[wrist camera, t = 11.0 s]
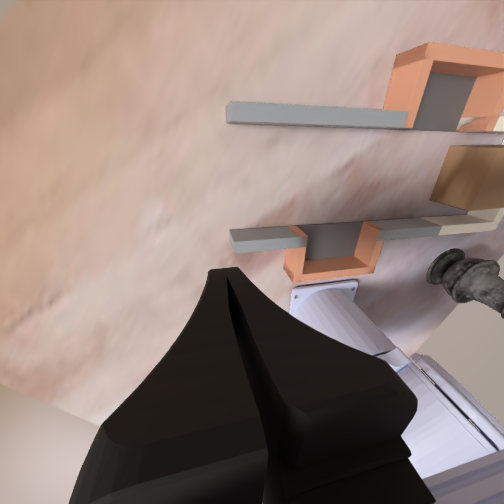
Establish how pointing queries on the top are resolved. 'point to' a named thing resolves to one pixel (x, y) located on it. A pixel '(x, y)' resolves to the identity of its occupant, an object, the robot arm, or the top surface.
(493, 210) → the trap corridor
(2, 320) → the top surface
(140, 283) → the top surface
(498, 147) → the walnut block
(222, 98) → the top surface
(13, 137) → the top surface
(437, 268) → the salt shaker
